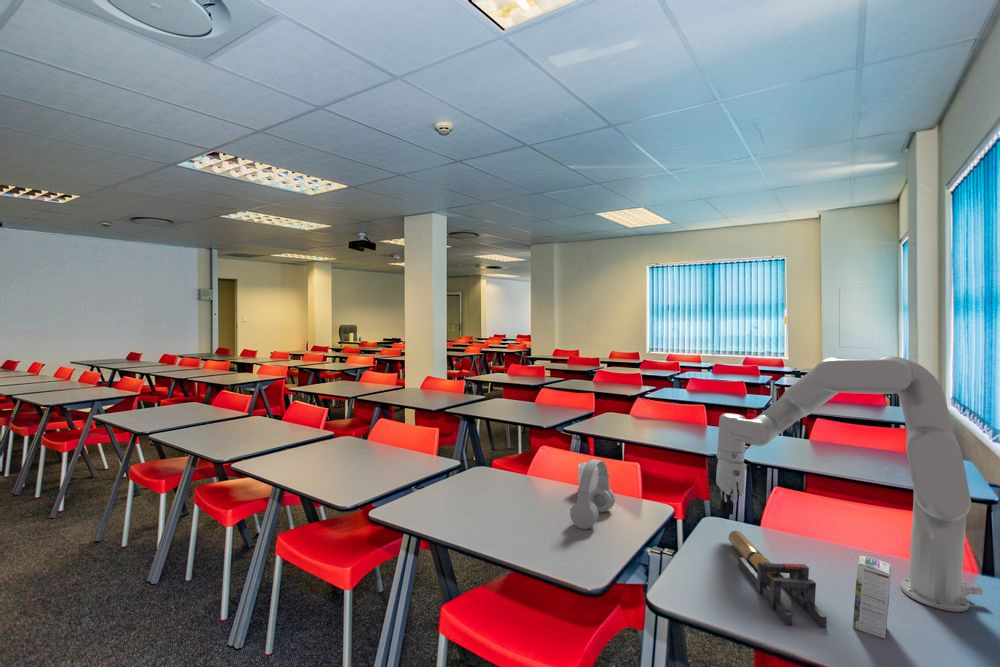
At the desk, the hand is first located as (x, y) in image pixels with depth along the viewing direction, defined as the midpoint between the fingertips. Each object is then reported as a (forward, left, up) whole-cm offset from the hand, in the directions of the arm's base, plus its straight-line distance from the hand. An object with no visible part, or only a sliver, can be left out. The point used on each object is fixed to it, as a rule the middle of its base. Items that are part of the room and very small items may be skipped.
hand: (726, 513), depth 149 cm
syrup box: (-14, +42, -7) cm, 45 cm away
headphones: (+40, -8, -7) cm, 41 cm away
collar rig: (0, +31, -7) cm, 32 cm away
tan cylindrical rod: (0, +16, -7) cm, 18 cm away
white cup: (+39, -31, -7) cm, 50 cm away
